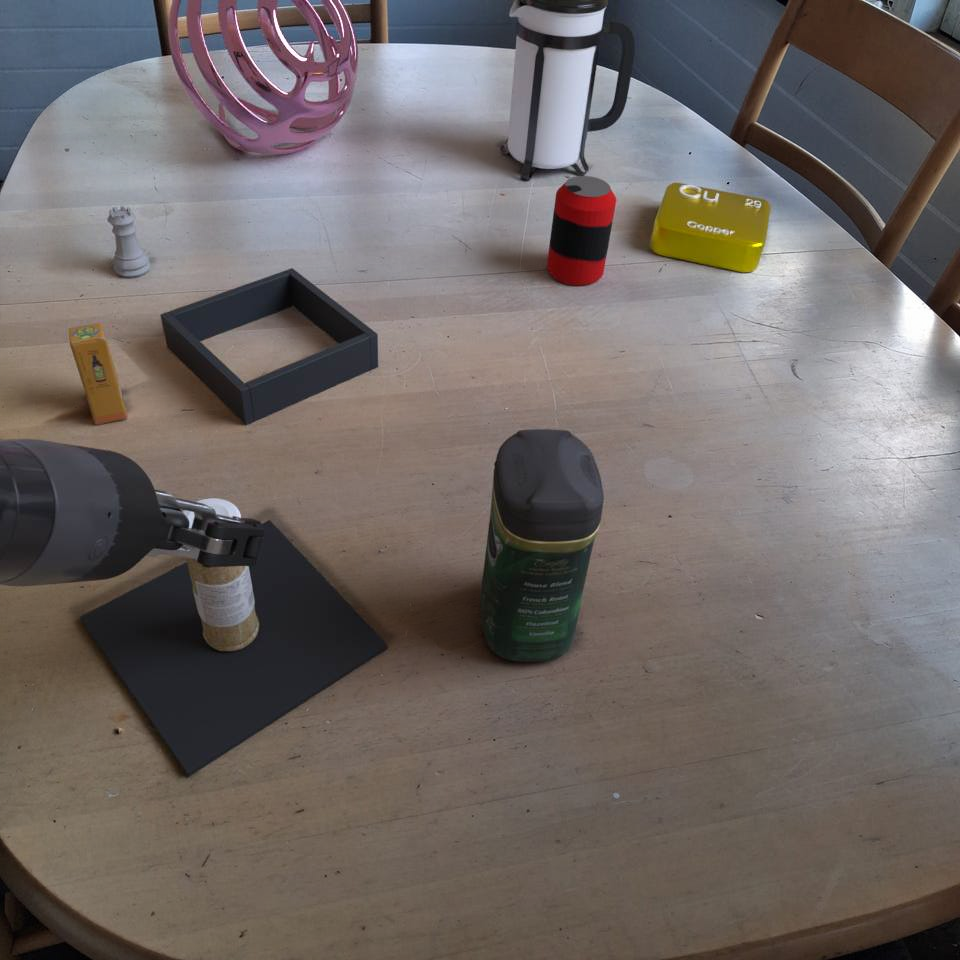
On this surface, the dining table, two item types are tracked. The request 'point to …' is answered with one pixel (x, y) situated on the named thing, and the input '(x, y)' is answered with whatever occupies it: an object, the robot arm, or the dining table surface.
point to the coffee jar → (539, 543)
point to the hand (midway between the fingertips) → (199, 518)
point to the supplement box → (97, 373)
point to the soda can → (581, 230)
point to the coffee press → (560, 81)
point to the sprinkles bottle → (224, 595)
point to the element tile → (711, 227)
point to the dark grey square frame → (286, 382)
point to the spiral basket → (288, 104)
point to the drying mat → (231, 652)
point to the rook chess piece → (127, 245)
